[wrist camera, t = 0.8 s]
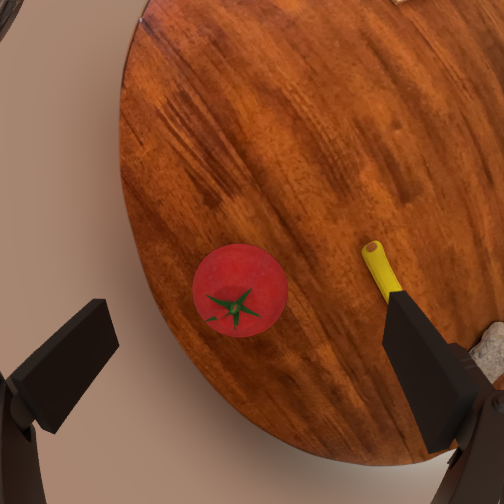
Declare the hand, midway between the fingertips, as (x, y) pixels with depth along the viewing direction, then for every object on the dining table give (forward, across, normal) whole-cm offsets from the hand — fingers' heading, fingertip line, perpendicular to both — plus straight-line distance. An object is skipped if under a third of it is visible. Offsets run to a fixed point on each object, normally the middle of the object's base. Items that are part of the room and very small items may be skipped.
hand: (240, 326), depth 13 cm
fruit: (+18, +12, -5) cm, 22 cm away
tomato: (+18, -2, -5) cm, 18 cm away
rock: (+18, +35, -19) cm, 44 cm away
